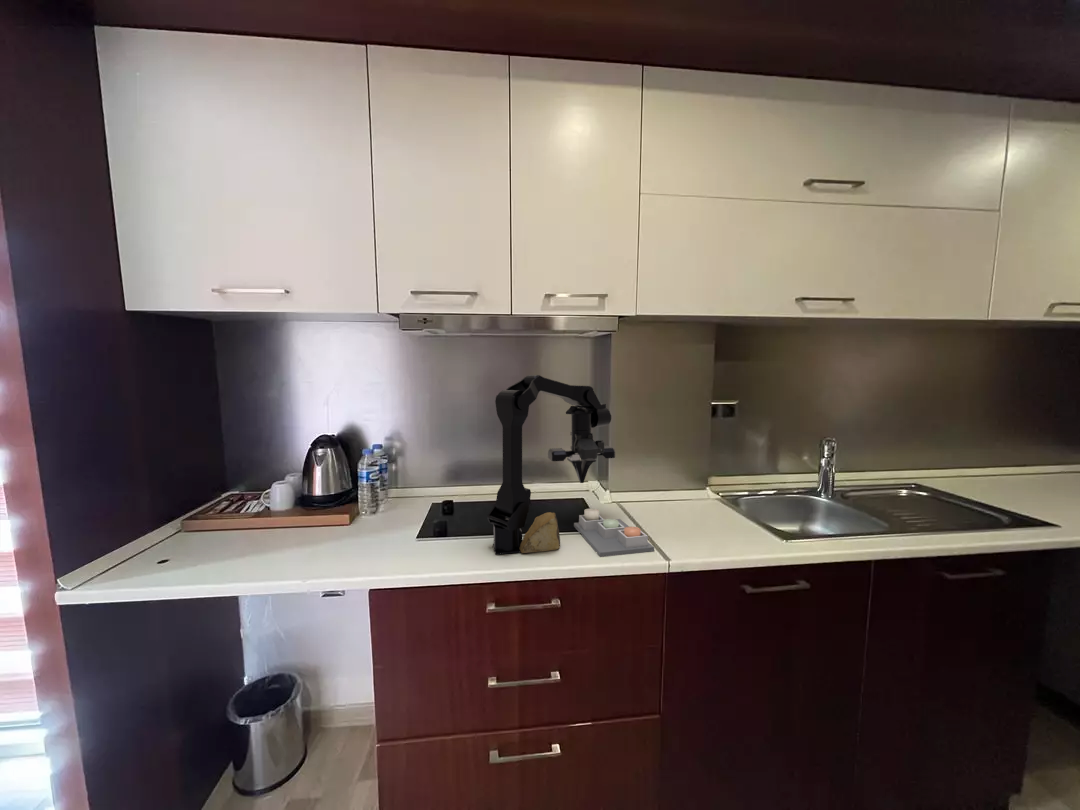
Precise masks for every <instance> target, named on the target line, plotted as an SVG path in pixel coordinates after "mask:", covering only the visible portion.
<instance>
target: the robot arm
mask: <svg viewBox="0 0 1080 810" xmlns="http://www.w3.org/2000/svg"><path fill="white" fill-rule="evenodd" d="M539 393H541V394H546V395H550V396H553V397H557V398H561V400H562V399H563V401H564V402H565V403H568V404H569V405H571V406H570V407H569V408H568V409H567V410H566V412H565V415H570V416H571V417H570V420H571V421H570V422H571V427H570V428H571V431H570V436H571V440H570V441H571V443H570V444H571V445H570V450H566V449H564V448H562V447H556V448H555V447H554V448H549V449H548V451H547V458H548V459H549V460H550V461H551V462H564V461H565V460H566V459H567V461H568V462H570V463H571V464H572V466H573V468H574V471H575V473H576V476H577V478H578V481H579V483H580V484H584V482H585V480H586V477H587V474H588V472H589V468H590V467H591V465H592V464H593V463H596V462H597V459H598V456H602V457H603V458H604V459H616V449H615V448H613V447H611V446H609V445H605V442H604V440H600V439H599V440H594V435H593V433H592V429H593V428H600V427H606V426H609V425H610V423H611V421H612V414H611V412H610V410H609V408H607V404H606V403H601V402H600V401H599V399H598V397H597V394H596V393H595V391H594V387H592V386H591V385H577V384H575V385H574V384H573V385H571V384H568V383H564V382H560V381H557V380H553V379H550V378H547V377H544V376H542V375H541V374H529V375H526V376H524V377H523V378H522V379H521V380H518V382H516V383H514V384H512V385H511V386H509V387H508V388H506V389H504V390H501V391H500V392H499V393H498V394H497V395H496V396H495V400H494V403H495V409H496V411H495V412H496V415H497V417H498V420H499V421H500V424H501V425H502V483H501V484H500V486H499V489H498V490H497V493H496V500H495V504H494V505H493V507H492V508H491V510H490V512H488V514H487V518H486V519H487V521H488V523H489V524H492V525H493V543H492V547H493V551H494V554H495V555H496V556H497V555H498V556H499V555H509V554H518V553H521V551H520V549H519V548H520V544H521V542H522V540H523V530H522V529H523V528H525V525H526V522H527V517H528V514H529V512H530V507H531V506H532V502H531V495H532V492H531V488H527V487H526V486H525V485H524V483H523V426H524V424H525V422H526V420H527V418H528V417H529V409H530V406H531V404H533V403H534V402H535V401H536V400H537V398H538V395H539Z"/></svg>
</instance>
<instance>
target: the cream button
mask: <svg viewBox="0 0 1080 810" xmlns="http://www.w3.org/2000/svg"><path fill="white" fill-rule="evenodd" d="M583 515H584V516H585V520H586V521H591V520H599V515H600V511H599V508H592V507H591V508H586V509H584V514H583Z"/></svg>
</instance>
